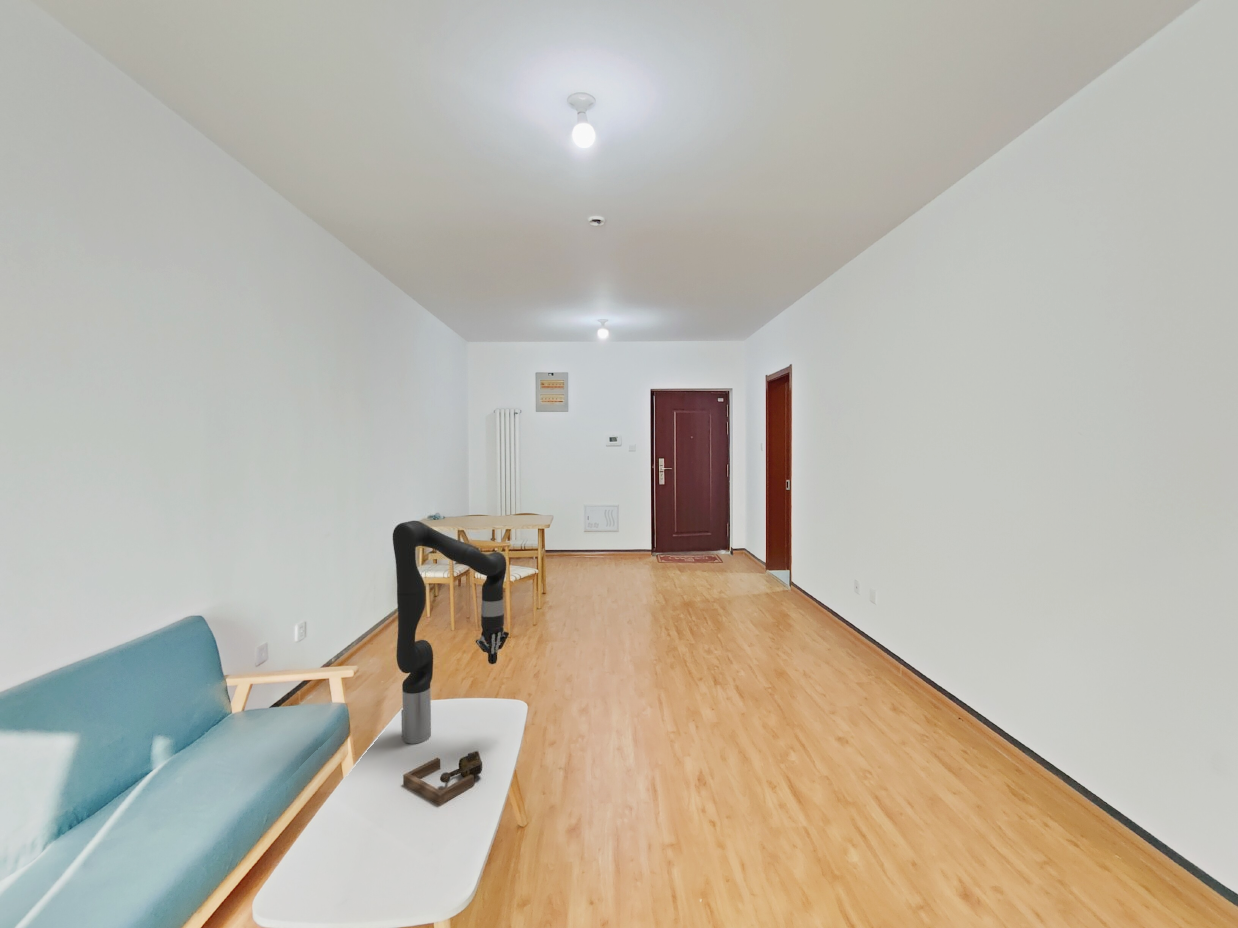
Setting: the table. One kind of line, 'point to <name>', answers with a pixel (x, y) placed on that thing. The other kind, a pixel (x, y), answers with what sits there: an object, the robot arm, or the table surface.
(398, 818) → the table surface
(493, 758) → the table surface
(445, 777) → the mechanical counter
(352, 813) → the table surface
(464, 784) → the bracket
